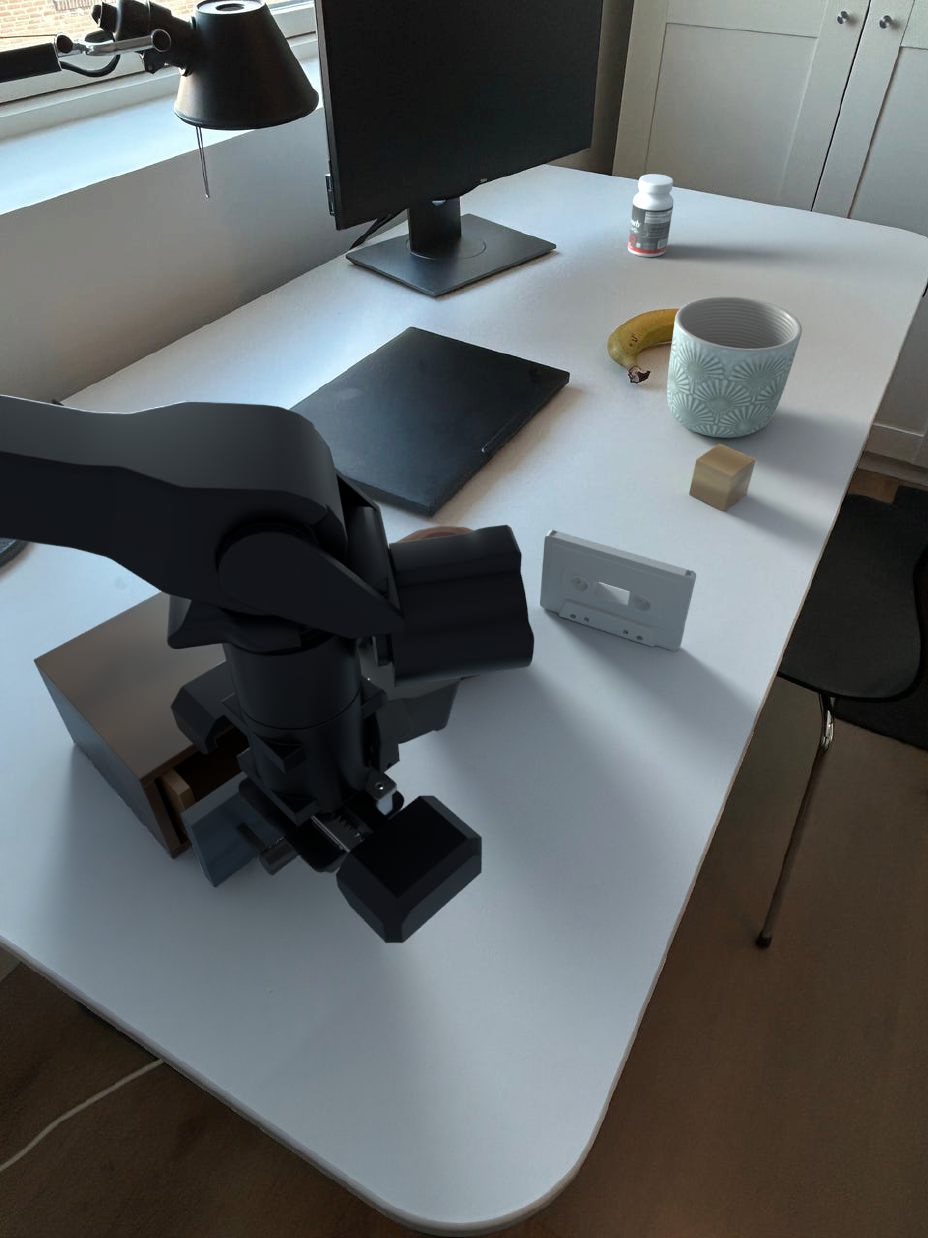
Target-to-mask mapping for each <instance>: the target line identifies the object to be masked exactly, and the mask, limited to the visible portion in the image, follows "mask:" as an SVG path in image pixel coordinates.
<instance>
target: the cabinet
mask: <svg viewBox="0 0 928 1238" xmlns="http://www.w3.org/2000/svg"><path fill="white" fill-rule="evenodd" d="M168 610H169V594H167V593H164V592H162V591H159V592H158V593H156V594H154V595H152V596H149V597H148V598H146V599H144V600H143V601H141V602H138V603H137V604H135V605H133V606H131V607H129V608H127V609H126V610H123V611H122V612H120V613H118V614H116V615H114V616H113V617H110V618H108V619H106V620H105V621H103V622H101V623H100V624H97V625H95V626H93V627H92V628H90V629H88V630H86V631H84V632H83V633H81V634H79V635H76V636H75V637H73V638H71V639H70V640H68V641H65V642H63V643H62V644H60V645H58V646H56V647H54V648H52V649H50V650H49V651H47V652H46V653H43V654H41V655H39V656H38V657H35V658H34V659H33V662H34V665H35V667H36V668H37V671H38V673H39V674H40V677H41V680H42V682H43V683H44V685H45V688H46V690H47V691H48V694H49V695H50V698H51V699H52V701H53V704H54V706H55V707H56V709H57V712H58V713H59V716H60V718H61V720H62V722H63V723H64V726H65V727H66V730H67V732H68V734H69V735H70V737H71V740H72V742H73V743H74V744H75V746H76V747H77V748H78V750H79V751H80V752H81V753H83V755H84V757H86V759H87V760H88V761H89V762H90V763H91V764H92V765H93V768H95V769H96V771H98V773H99V774H100V776H102V777H103V779H104V780H105V781H106V782H107V783H108V784H109V786H110V787H111V788H112V789H113V790H114V791H115V793H116V794H117V795H118V796H119V797H120V799H121V800H122V801H123V802H124V804H126V806H127V807H128V808H129V809H130V810H131V812H132V813H133V814H134V815H135V816H136V817H137V819H138V820H139V821H140V823H142V825H143V826H145V828H146V829H147V830H148V832H149V833H150V834H151V835H152V836H153V837H154V838H155V840H156V841H157V843H159V845H160V846H161V847H162V848H163V849H164V851H165V852H166V853H167V854H168V855H169V856H170V858H171V859H172V860H175V859H177V858H178V857H179V856H181V855H182V854H184V853H185V852H186V851H188V850H189V849H190V848H193V846H192V843H191V841H190V840H189V839H188V837H187V836H186V835H185V834H184V833H183V832H182V831H181V830H180V828H179V827H178V826H177V825H176V824H175V823H174V822H173V820H172V819H171V818H170V817H169V815H168V812H167V810H166V808H165V805H164V803H163V800H162V798H161V795H160V793H159V791H158V788H157V786H156V783H155V781H154V779H156V778H157V777H159V776H160V775H162V774H163V773H165V772H166V771H168V770H170V769H171V768H173V767H174V766H176V765H177V764H179V763H180V762H182V761H183V760H185V759H186V758H188V757H189V756H191V755H192V754H194V753H196V752H197V751H199V749H198V748H197V747H196V746H195V745H194V744H193V743H192V742H191V741H190V740H189V739H188V738H187V737H186V736H185V735H184V734H183V733H182V732H181V731H180V730H179V729H178V727H177V724H176V721H175V718H174V715H173V712H172V709H171V705H172V703H173V701H174V699H175V697H176V696H177V694H178V692H179V690H180V688H181V686H182V685H184V684H186V683H187V682H189V681H191V680H192V679H194V678H196V677H197V676H199V675H201V674H202V673H204V672H206V671H208V670H209V669H211V668H213V667H214V666H216V665H218V664H219V663H221V662H223V661H224V660H226V657H225V653H224V650H223V646H222V643H221V644H213V645H206V646H199V647H192V648H184V649H173V648H171V647H170V646H169V645H168V644H167V626H168ZM234 727H235V725H234V724H233V725H231V726H230V727H228V728H226V729H225V730H223V731H222V732H220V733H219V734H217V735H216V736H214V737H215V739H217V738H219V737H220V736H222V735H223V734H225V733H226V732H228V731H229V730H231V729H232V728H234Z"/></svg>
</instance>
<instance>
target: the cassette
mask: <svg viewBox="0 0 928 1238" xmlns="http://www.w3.org/2000/svg"><path fill="white" fill-rule="evenodd" d="M696 580H697V573H696V572H695V571H694V570H690V569H687V568H684V567H682V566H681V567H680V566H677V565H674V564H671V563H667V562H664V561H660V560H656V559H654V558H650V557H647V556H643V555H639V554H637V553H633V552H630V551H627V550H623V549H619V548H616V547H613V546H609V545H606V544H603V543H599V542H595V541H592V540H588V539H585V538H582V537H578V536H576V535H571V534H568V533H565V532H561V531H558V530H555V529H550V530H549V531H548V532H547V534H545V537H544V540H543V556H542V569H541V583H540V597H539V605H540V607H541V608H543V609H545V610H547V611H551V612H554V613H557V614H558V617H560V618H563V619H566V620H570V621H573V622H576V623H579V624H582V625H585V626H587V627H591V628H593V629H596V630H600V631H603V632H606V633H609V634H611V635H614V636H618V637H621V638H624V639H627V640H629V641H633V642H636V643H639V644H643V645H646V646H648V647H652V648H654V647H655V646H658V647H660V648H663V649H667V650H668V651H669V650H670V651H672V652H673V651H674V652H676V651H678V650H679V648H681V645H682V642H683V639H684V638H683V637H684V633H685V628H686V623H687V619H688V614H689V610H690V606H691V602H692V597H693V592H694V588H695V584H696Z"/></svg>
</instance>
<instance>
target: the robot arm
mask: <svg viewBox="0 0 928 1238" xmlns="http://www.w3.org/2000/svg"><path fill="white" fill-rule="evenodd" d="M473 530H474V531H471V532H468V533H464V534H459V535H451V536H443V537H435V538H427V539H419V540H411V541H403V542H397V541H395V542H396V543H395V542H390V543H389V542H388V537H387V532H386V529H385V525H384V519H383V516H382V511H381V508H380V506H379V504H377V503H376V502H375V501H374V500H373V499H371V497H369V496H368V495H367V494H366V493H365V492H364V491H362V490H361V489H360V488H359V487H358V486H357V485H356V484H355V483H354V482H353V481H351V479H349V478H348V477H347V476H345V474H343V472H341V471H340V470H339V469H338V468H337V467H336V466H335V461H334V459H333V455H332V451H331V448H330V446H329V445H328V443H327V442H326V441H325V439H324V437H323V436H322V435H321V433H320V432H319V431H318V430H317V429H316V428H315V425H314V423H313V422H312V421H311V420H309V419H308V418H306V417H305V416H303V415H302V414H300V413H298V412H295V411H292V410H290V409H287V408H285V407H282V406H277V405H269V404H258V403H257V404H255V403H240V402H239V403H238V402H235V403H234V402H219V401H203V400H202V401H200V400H199V401H198V400H185V401H180V402H175V403H170V404H165V405H160V406H156V407H151V408H147V409H146V408H145V409H141V410H136V411H133V412H110V411H109V412H108V411H90V410H84V409H80V408H75V407H69V406H63V405H58V404H53V403H49V402H48V403H47V402H42V401H38V400H37V401H36V400H32V399H27V398H22V397H18V396H17V397H16V396H11V395H6V394H1V393H0V539H2V540H11V541H17V542H23V543H31V544H38V545H45V546H53V547H61V548H68V549H74V550H77V551H81V552H85V553H89V554H93V555H97V556H100V557H103V558H107V559H109V560H111V561H113V562H114V563H116V564H118V565H119V566H121V567H122V568H124V569H125V570H127V571H129V572H131V573H132V574H134V575H135V576H137V577H138V578H140V579H141V580H143V581H144V582H146V583H148V584H149V585H151V586H152V587H154V589H157V590H159V592H161V591H162V592H164V593H167V594H169V610H168V626H167V644H168V645H169V646H170V647H171V648H173V649H184V648H192V647H199V646H206V645H213V644H221V643H222V646H223V650H224V653H225V657H226V660H224V661H223V662H221V663H219V664H218V665H216V666H214V667H213V668H211V669H209V670H208V671H206V672H204V673H202V674H201V675H199V676H197V677H196V678H194V679H192V680H191V681H189V682H187V683H186V684H184V685H182V686H181V688H180V690H179V692H178V694H177V696H176V697H175V699H174V701H173V703H172V705H171V709H172V712H173V715H174V718H175V721H176V724H177V727H178V729H179V730H180V731H181V732H182V733H183V734H184V735H185V736H186V737H187V738H188V739H189V740H190V741H191V742H192V743H193V744H194V745H195V746H196V747H197V748H198V749H199V750H200V751H201V752H202V753H203V754H208V753H210V752H211V751H213V750H214V749H216V748H217V744H216V740H215V737H214V736H216V735H217V734H219V733H220V732H222V731H223V730H225V729H226V728H228V727H230V726H231V725H233V724H234V725H235V726H236V727H237V728H239V729H240V730H241V731H242V732H243V733H244V734H245V735H246V736H247V738H248V742H249V746H250V748H248V749H247V750H245V751H244V752H242V753H241V754H239V755H238V756H237V759H238V762H239V766H240V769H241V770H242V771H243V772H244V773H245V774H246V775H247V777H246V778H244V779H243V780H242V781H241V782H240V783H239V786H238V790H239V793H240V794H241V796H242V797H243V798H244V799H245V800H246V801H247V802H248V803H249V804H250V805H251V806H252V807H253V808H254V809H255V810H256V811H257V812H258V813H259V814H260V815H261V816H262V817H263V818H264V819H265V820H266V821H267V822H268V823H269V824H270V825H272V826H273V827H274V828H275V829H277V830H278V831H279V832H280V833H282V834H283V835H284V837H282V838H283V839H284V840H285V841H286V842H287V843H288V844H289V845H290V846H291V847H292V848H293V850H294V851H295V852H296V853H297V854H298V855H299V856H298V857H300V858H301V859H302V860H303V861H304V862H305V863H306V864H307V866H309V868H311V870H313V871H315V872H316V873H329V874H333V873H334V872H335V880H336V886H337V888H338V890H339V891H340V892H341V894H342V896H343V898H344V899H345V901H346V902H347V904H348V905H349V907H350V908H351V909H352V910H353V911H354V912H355V913H356V914H357V915H358V916H359V917H360V918H361V919H362V921H364V922H365V923H366V924H367V925H368V926H369V928H371V930H373V932H374V933H375V934H376V935H378V937H379V938H380V939H382V941H383V943H385V944H404V943H406V941H407V940H408V939H410V938H411V936H413V935H414V934H415V933H416V932H417V931H418V930H420V929H421V927H423V926H424V925H425V924H426V923H427V922H428V921H430V920H431V918H433V917H434V916H435V915H436V914H437V913H438V912H439V911H441V909H443V908H444V907H445V906H446V905H447V904H448V903H450V902H451V901H452V900H453V899H454V898H455V897H456V896H457V895H459V893H461V892H462V891H463V890H464V889H465V888H467V886H468V885H469V884H471V883H472V882H473V881H474V880H476V878H477V877H479V875H481V874H482V872H483V871H482V868H483V867H482V866H483V837H482V836H481V835H480V834H479V833H477V831H475V830H474V829H473V828H472V827H470V825H469V824H467V823H466V822H465V821H464V820H463V819H461V818H460V817H459V816H458V815H457V814H456V813H455V812H453V811H452V810H451V809H450V808H449V807H447V805H445V803H443V802H442V801H441V800H439V798H437V797H436V796H435V795H418V796H417V797H416V798H414V799H413V800H412V801H411V802H410V803H408V804H407V805H405V797H404V795H403V794H402V793H401V792H400V791H399V790H398V786H397V785H398V783H396V782H395V781H394V779H392V778H391V777H390V776H389V775H388V774H386V772H387V771H388V770H390V769H391V768H392V767H394V766H395V765H396V764H397V763H399V762H400V761H401V760H400V759H401V758H400V746H399V745H402V744H406V743H408V742H410V741H413V740H415V739H417V738H420V737H422V736H424V735H427V734H429V733H431V732H433V731H435V732H439V731H442V730H444V729H445V728H446V727H447V725H448V724H449V723H448V722H449V719H450V717H451V713H452V709H453V706H454V703H455V699H456V696H457V692H458V689H459V685H460V683H461V680H460V679H461V677H466V676H472V677H474V676H473V675H476V676H480V675H484V674H486V675H487V674H492V673H498V672H505V671H506V672H507V671H513V670H519V669H525V668H528V667H530V666H531V664H532V662H533V658H534V650H535V636H534V635H535V634H534V632H533V629H532V626H531V623H530V619H529V609H528V602H527V595H526V590H525V583H524V580H523V574H522V559H523V557H522V555H523V553H522V551H521V548H520V547H519V543H518V541H517V539H516V537H515V534H514V531H513V529H512V527H511V526H509V525H508V524H502V525H501V524H500V525H493V526H492V525H491V526H486V527H481V528H477V529H473ZM404 805H405V806H404Z"/></svg>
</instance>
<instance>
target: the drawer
mask: <svg viewBox="0 0 928 1238" xmlns="http://www.w3.org/2000/svg"><path fill="white" fill-rule="evenodd" d="M215 740H216V744H217V748H216V749H214V750H213V751H211V752H210V753H208V754H203V753H202V752H201V751H200V750H199V751H197V752H196V753H194V754H192V755H191V756H189V757H188V758H186V759H185V760H183V761H182V762H180V763H179V764H177V765H176V766H174V767H173V768H171V769H170V770H168V771H166V772H165V773H163V774H162V775H160V776H159V777H157V778H156V779H154V781H155V783H156V786H157V788H158V791H159V793H160V795H161V798H162V800H163V803H164V805H165V808H166V810H167V812H168V815H169V817H170V818H171V819H172V820H173V822H174V823H175V824H176V825H177V826H178V827H179V828H180V830H181V831H182V832H183V833H184V834H185V835H186V836H187V837H188V839H189V840H190V841H191V843H192V848H193V850H194V854H195V856H196V858H197V861H198V863H199V865H200V869H201V871H202V874H203V875H204V877H205V879H206V880H207V881H208V882H209V884H210V885H211V886H212V887H213V888H215V889H216V888H218V887H219V886H220V885H222V884H223V883H224V882H226V881H227V880H228V879H230V878H231V877H232V876H234V875H235V874H236V873H238V872H239V871H240V870H241V869H243V868H244V867H246V866H247V865H249V863H251V862H252V861H253V860H255V859H256V858H258V861H259V863H260V865H261V866H262V868H263V869H264V870H265V871H266V873H267V874H268V875H270V876H274V875H276V874H277V873H279V872H280V871H281V870H282V869H284V868H285V867H286V866H287V865H288V864H290V863H291V862H292V861H294V860H295V859H296V858H298V857H300V856H299V855H298V854H297V853H296V852H295V851H294V850H293V848H292V847H291V846H290V845H289V844H288V843H287V842H286V841H285V840H284V839H283V837H284V835H283V834H282V833H280V832H279V831H278V830H277V829H275V828H274V827H273V826H272V825H270V824H269V823H268V822H267V821H266V820H265V819H264V818H263V817H262V816H261V815H260V814H259V813H258V812H257V811H256V810H255V809H254V808H253V807H252V806H251V805H250V804H249V803H248V802H247V801H246V800H245V799H244V798H243V797H242V796H241V794H240V793H239V790H238V786H239V783H240V782H241V781H242V780H243V779H244V778H246V777H247V775H246V774H245V773H244V772H243V771H242V770H241V769H240V766H239V762H238V759H237V756H238V755H239V754H241V753H242V752H244V751H245V750H247V749H248V748H250V746H249V742H248V738H247V736H246V735H245V734H244V733H243V732H242V731H241V730H240V729H239V728H237V727H236V726H235V727H234V728H232V729H231V730H229V731H228V732H226V733H225V734H223V735H222V736H220V737H219V738H217V739H215Z"/></svg>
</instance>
